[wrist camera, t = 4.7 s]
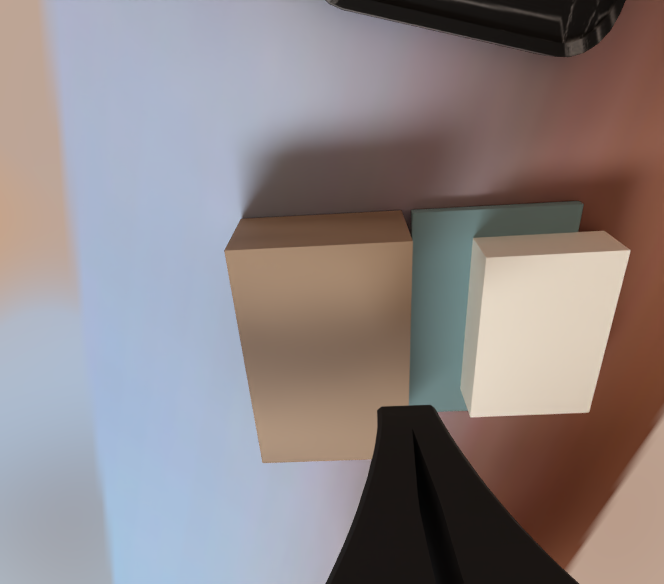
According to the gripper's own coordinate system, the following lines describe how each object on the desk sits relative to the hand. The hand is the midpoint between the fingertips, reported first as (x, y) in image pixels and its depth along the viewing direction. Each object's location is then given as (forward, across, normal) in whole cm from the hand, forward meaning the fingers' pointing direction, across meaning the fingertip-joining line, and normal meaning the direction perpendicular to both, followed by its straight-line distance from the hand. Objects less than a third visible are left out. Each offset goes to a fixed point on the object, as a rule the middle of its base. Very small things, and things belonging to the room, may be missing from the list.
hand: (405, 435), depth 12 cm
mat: (+5, -3, 0) cm, 6 cm away
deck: (+5, +2, 0) cm, 6 cm away
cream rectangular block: (+3, -5, 0) cm, 6 cm away
